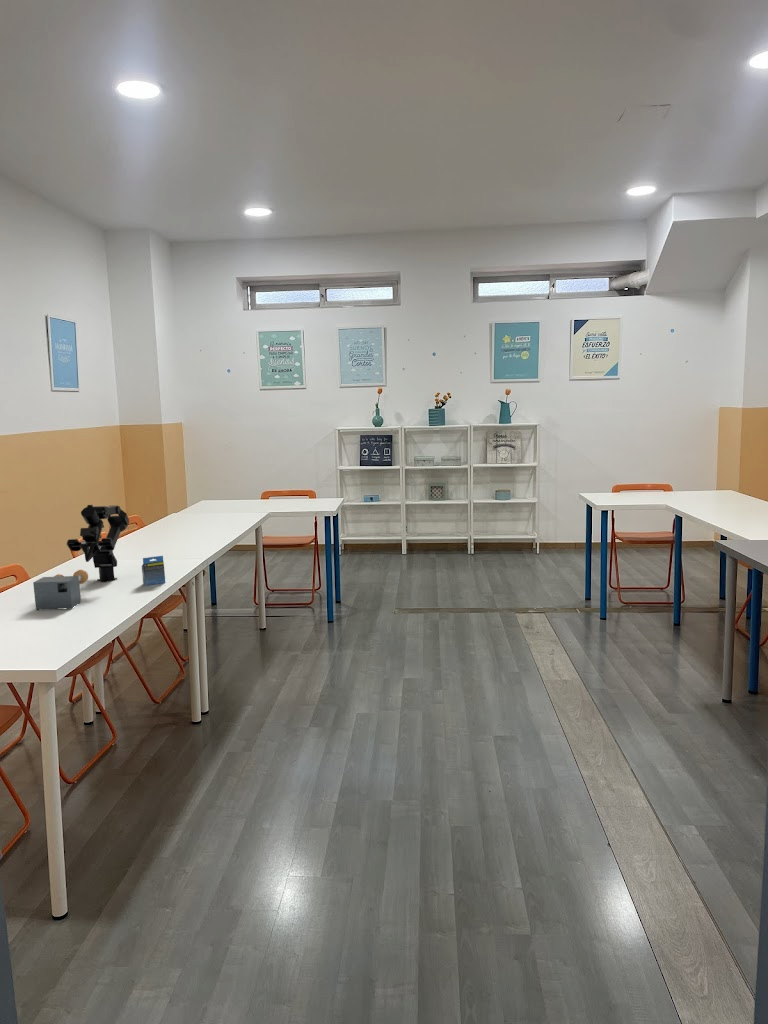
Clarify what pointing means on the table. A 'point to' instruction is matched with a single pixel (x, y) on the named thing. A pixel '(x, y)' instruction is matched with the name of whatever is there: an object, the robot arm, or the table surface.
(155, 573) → the label tape cartridge
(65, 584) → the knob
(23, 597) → the table surface
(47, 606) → the mount
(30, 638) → the table surface
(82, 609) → the table surface
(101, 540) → the robot arm
